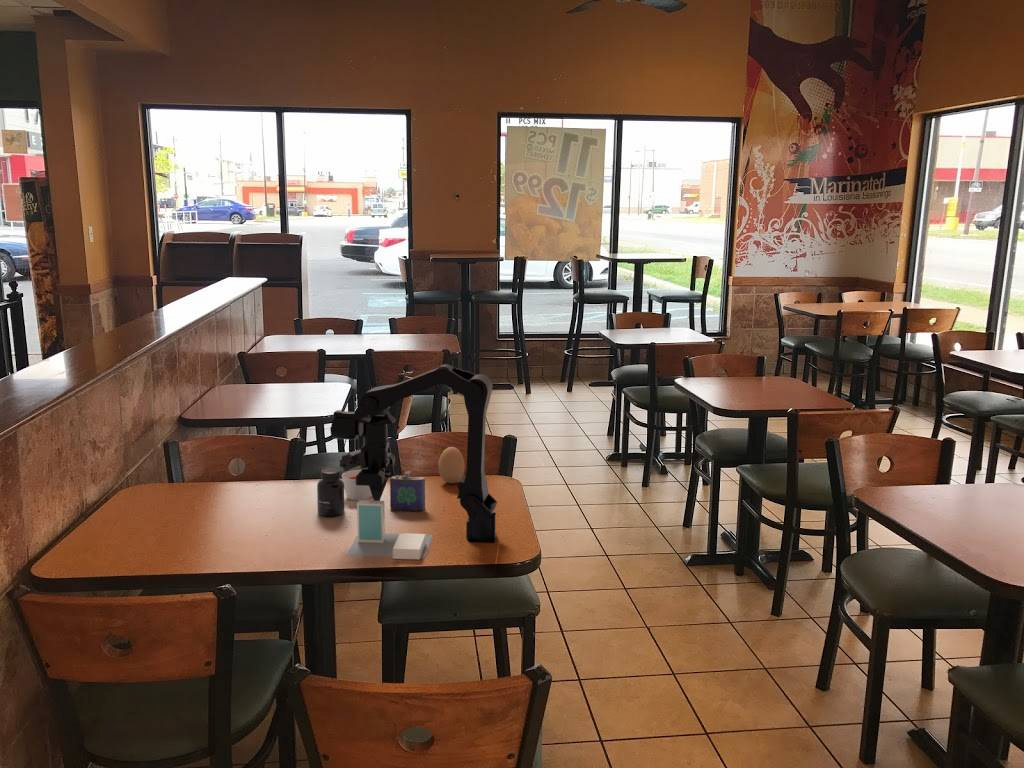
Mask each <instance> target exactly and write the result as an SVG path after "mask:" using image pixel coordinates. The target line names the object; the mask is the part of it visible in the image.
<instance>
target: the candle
mask: <svg viewBox="0 0 1024 768" xmlns="http://www.w3.org/2000/svg"><path fill="white" fill-rule="evenodd" d="M361 470H362V469H354V470H348V471H344V472H343V473H342V474H341V480H342V481H343V482H344V494H345V496H346V497H345V498H346V499H348V500H351V501H359V500H369V499H370V498H371V497H372V494H371V491H370V488H369V486H362V485H356V476H357V474H358V473H359V472H360V471H361Z"/></svg>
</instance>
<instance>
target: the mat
mask: <svg viewBox="0 0 1024 768" xmlns="http://www.w3.org/2000/svg"><path fill="white" fill-rule="evenodd" d="M399 534H400V533H399ZM399 534H398V533H385V540H384V542H383V543H374V542H358V534H357V535H356V536H355V538H354V541H353V542H352V544H351V546H350V548H349V549H348V551H347V553H346V554H345V557H369V558H370V557H375V558H376V557H377V558H380V557H381V558H393V547H394V545H395V543H396V541H397V539H398V536H399ZM433 536H434V535H432V534H425V546H424V549H423V552H422V555H421V557H420V559H425V558H426V556H427V552H428V550H429V548H430V544H431V543H432V539H433Z"/></svg>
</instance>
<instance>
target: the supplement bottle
mask: <svg viewBox="0 0 1024 768" xmlns="http://www.w3.org/2000/svg"><path fill="white" fill-rule="evenodd" d="M320 478H321V479H320V480H318V482H317V484H316V488H317V489H316V491H317V492H316V496H317V497H316V498H317V500H316V503H317V505H316V506H317V516H319V517H321V518H325V519H327V518H328V519H333V518H337V517H342V516H343V515H344V514H345V489H344V482H343V479H342V478H341V470H340V469H339V468H335V467H328V468H327V467H326V468H323V469H321V471H320Z"/></svg>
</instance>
